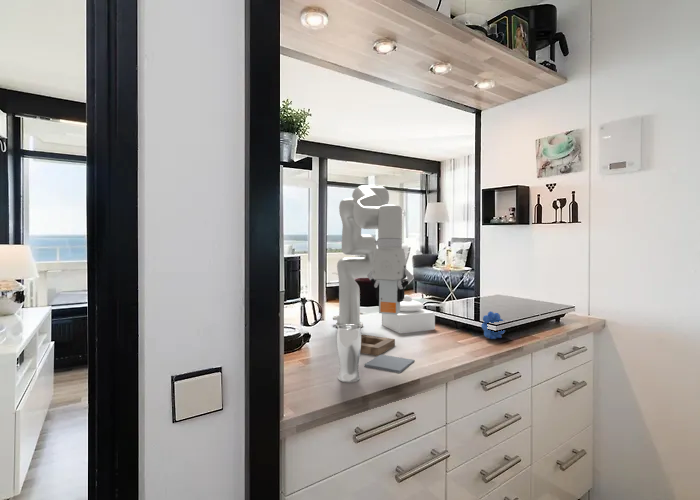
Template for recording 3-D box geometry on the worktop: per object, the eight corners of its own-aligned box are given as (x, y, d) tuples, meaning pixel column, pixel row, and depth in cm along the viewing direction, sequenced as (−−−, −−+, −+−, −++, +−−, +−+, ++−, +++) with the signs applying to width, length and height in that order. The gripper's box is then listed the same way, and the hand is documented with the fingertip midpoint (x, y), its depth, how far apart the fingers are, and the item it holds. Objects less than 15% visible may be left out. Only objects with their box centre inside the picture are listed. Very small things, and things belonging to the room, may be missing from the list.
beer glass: (341, 373, 110) (341, 323, 109) (364, 376, 108) (363, 324, 107) (333, 381, 103) (333, 328, 103) (357, 384, 101) (357, 330, 101)
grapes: (490, 345, 140) (490, 314, 140) (477, 341, 146) (477, 311, 146) (512, 342, 145) (512, 311, 145) (499, 338, 151) (499, 309, 151)
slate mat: (364, 367, 115) (364, 364, 115) (381, 357, 126) (381, 354, 126) (399, 374, 109) (399, 370, 109) (414, 362, 120) (414, 359, 119)
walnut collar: (343, 350, 133) (343, 342, 133) (362, 342, 145) (362, 334, 145) (378, 356, 126) (378, 348, 126) (394, 347, 138) (394, 339, 138)
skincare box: (378, 313, 116) (378, 275, 116) (382, 311, 120) (382, 274, 120) (397, 315, 114) (397, 276, 114) (400, 312, 118) (400, 275, 118)
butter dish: (434, 332, 162) (434, 296, 162) (398, 336, 156) (398, 298, 155) (414, 324, 178) (414, 291, 178) (380, 327, 172) (380, 293, 172)
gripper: (360, 244, 118) (360, 300, 118) (411, 244, 109) (411, 304, 110) (371, 244, 125) (370, 297, 125) (420, 244, 116) (419, 301, 116)
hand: (389, 300), depth 117 cm, fingers closed on skincare box, 6 cm apart
